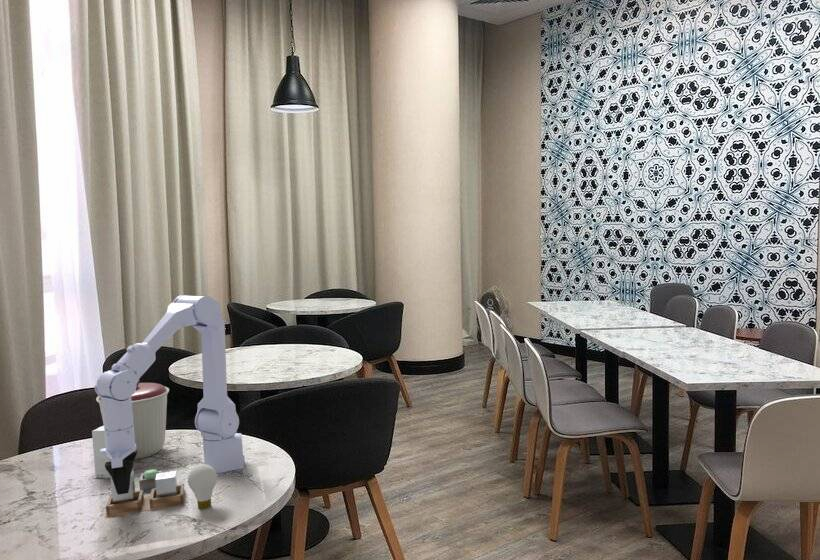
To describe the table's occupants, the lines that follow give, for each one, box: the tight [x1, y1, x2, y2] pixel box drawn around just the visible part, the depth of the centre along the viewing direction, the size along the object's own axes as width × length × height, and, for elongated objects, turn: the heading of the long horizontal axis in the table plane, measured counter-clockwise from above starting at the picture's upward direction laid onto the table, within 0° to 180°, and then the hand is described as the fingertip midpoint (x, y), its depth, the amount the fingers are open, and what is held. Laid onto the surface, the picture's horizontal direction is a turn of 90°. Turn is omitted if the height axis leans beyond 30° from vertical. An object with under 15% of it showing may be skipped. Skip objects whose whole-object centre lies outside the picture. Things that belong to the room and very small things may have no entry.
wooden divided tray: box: [104, 483, 186, 518], centre depth 146 cm, size 16×8×3 cm, turn 107°
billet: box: [110, 466, 136, 502], centre depth 145 cm, size 4×4×6 cm
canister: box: [95, 380, 170, 460], centre depth 181 cm, size 18×18×21 cm
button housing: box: [138, 470, 163, 492], centre depth 156 cm, size 5×5×4 cm
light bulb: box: [187, 463, 218, 510], centre depth 143 cm, size 6×6×10 cm
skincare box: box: [91, 425, 111, 479], centre depth 167 cm, size 6×4×12 cm
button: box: [143, 468, 158, 479], centre depth 156 cm, size 3×3×4 cm
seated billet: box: [155, 470, 178, 498], centre depth 147 cm, size 4×4×6 cm
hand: (124, 489), depth 145 cm, fingers closed on billet, 4 cm apart
